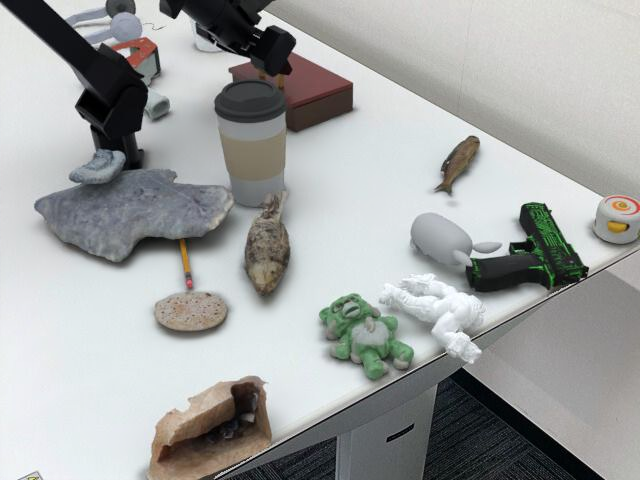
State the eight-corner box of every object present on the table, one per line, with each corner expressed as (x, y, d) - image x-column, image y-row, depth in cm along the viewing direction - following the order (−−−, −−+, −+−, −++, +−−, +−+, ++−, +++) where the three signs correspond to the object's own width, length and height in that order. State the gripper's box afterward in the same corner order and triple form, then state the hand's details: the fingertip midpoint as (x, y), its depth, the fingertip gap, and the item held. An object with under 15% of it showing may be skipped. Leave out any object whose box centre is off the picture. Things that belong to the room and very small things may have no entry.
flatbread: (234, 300, 87) (233, 292, 87) (218, 338, 81) (217, 330, 81) (164, 292, 88) (163, 285, 87) (143, 330, 82) (142, 322, 81)
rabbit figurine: (394, 243, 93) (459, 288, 85) (407, 204, 91) (474, 247, 83) (431, 243, 97) (495, 286, 89) (443, 206, 95) (511, 246, 87)
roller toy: (659, 207, 93) (626, 185, 97) (619, 220, 91) (587, 198, 95) (649, 237, 96) (618, 215, 100) (610, 251, 94) (580, 227, 98)
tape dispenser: (166, 131, 119) (196, 70, 132) (162, 100, 115) (193, 40, 128) (56, 119, 119) (97, 60, 133) (48, 88, 115) (91, 30, 129)
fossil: (86, 171, 89) (55, 162, 91) (92, 198, 91) (62, 189, 93) (134, 145, 94) (103, 138, 96) (139, 171, 96) (109, 163, 98)
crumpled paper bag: (143, 478, 69) (134, 403, 65) (254, 434, 76) (250, 364, 72) (174, 506, 65) (165, 428, 61) (287, 457, 72) (285, 385, 69)
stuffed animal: (367, 391, 76) (368, 361, 73) (301, 326, 83) (300, 297, 80) (428, 359, 80) (431, 329, 77) (359, 300, 87) (360, 271, 84)
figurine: (367, 341, 82) (475, 374, 79) (370, 306, 78) (483, 340, 75) (399, 283, 88) (499, 312, 85) (403, 248, 84) (507, 278, 82)
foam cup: (246, 50, 138) (239, -26, 129) (197, 58, 135) (187, -19, 126) (229, 32, 144) (221, -42, 135) (182, 39, 141) (171, -35, 133)
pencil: (193, 287, 88) (192, 282, 87) (187, 288, 88) (186, 283, 87) (178, 201, 101) (177, 195, 100) (172, 201, 101) (171, 196, 100)
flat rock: (248, 189, 102) (70, 174, 104) (244, 157, 98) (58, 142, 100) (216, 283, 91) (17, 264, 93) (209, 251, 87) (2, 232, 89)
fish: (459, 141, 114) (459, 127, 112) (483, 143, 113) (483, 128, 111) (428, 203, 103) (427, 187, 101) (454, 205, 101) (454, 190, 100)
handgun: (477, 306, 86) (600, 292, 88) (481, 285, 84) (606, 272, 86) (437, 228, 97) (547, 218, 100) (440, 208, 95) (551, 198, 98)
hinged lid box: (295, 132, 116) (294, 108, 113) (234, 95, 125) (231, 72, 122) (353, 110, 121) (353, 87, 119) (289, 76, 130) (289, 54, 128)
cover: (291, 108, 113) (290, 70, 109) (228, 72, 122) (225, 35, 118) (353, 87, 119) (354, 49, 115) (288, 54, 128) (287, 18, 124)
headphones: (160, 9, 150) (60, 36, 147) (150, -21, 145) (47, 7, 143) (172, 42, 137) (63, 72, 135) (161, 10, 133) (49, 41, 131)
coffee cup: (218, 182, 105) (204, 77, 95) (280, 171, 107) (274, 67, 97) (234, 217, 99) (221, 108, 88) (300, 204, 101) (295, 96, 91)
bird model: (227, 278, 82) (244, 313, 85) (279, 264, 81) (294, 300, 84) (239, 184, 98) (252, 216, 101) (282, 171, 97) (295, 204, 100)
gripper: (282, -29, 98) (346, 38, 111) (204, -62, 108) (270, 3, 121) (236, 46, 100) (304, 104, 112) (163, 7, 110) (233, 64, 123)
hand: (278, 65), depth 117 cm, fingers closed on cover, 6 cm apart
